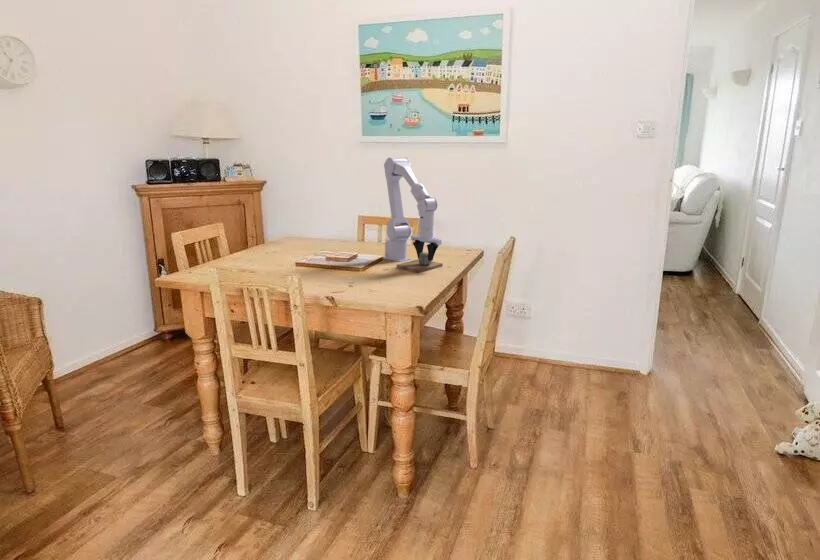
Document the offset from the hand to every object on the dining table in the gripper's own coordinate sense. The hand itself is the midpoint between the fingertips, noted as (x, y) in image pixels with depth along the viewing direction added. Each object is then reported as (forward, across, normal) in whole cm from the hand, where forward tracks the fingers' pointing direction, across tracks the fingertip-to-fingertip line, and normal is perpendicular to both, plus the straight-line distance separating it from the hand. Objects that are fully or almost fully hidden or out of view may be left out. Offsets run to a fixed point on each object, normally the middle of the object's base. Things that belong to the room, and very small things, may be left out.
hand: (425, 259), depth 235 cm
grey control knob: (+2, 0, 0) cm, 2 cm away
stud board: (+3, -2, -1) cm, 4 cm away
